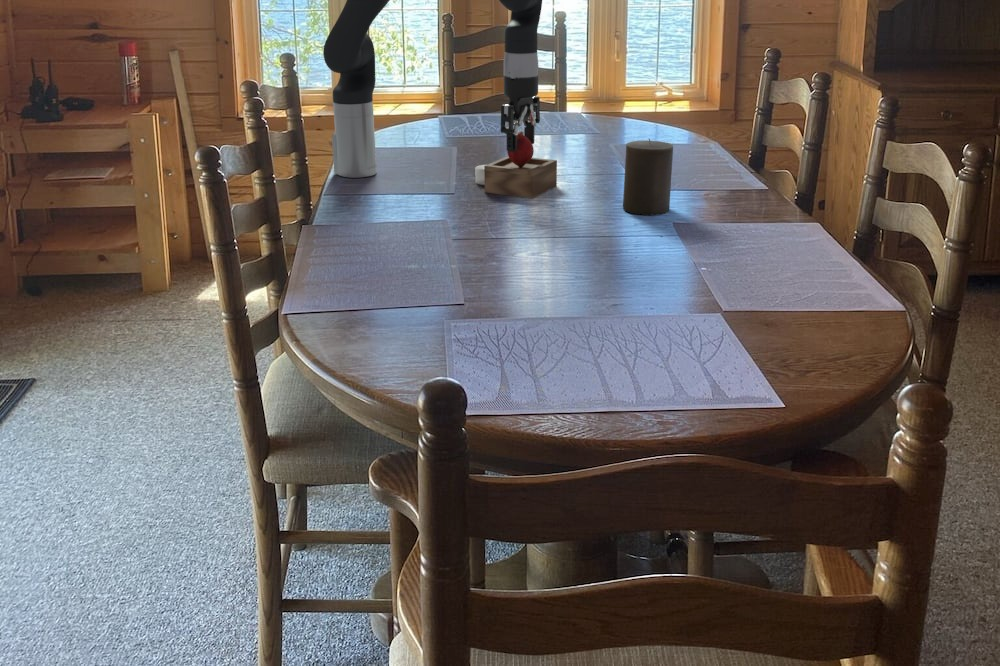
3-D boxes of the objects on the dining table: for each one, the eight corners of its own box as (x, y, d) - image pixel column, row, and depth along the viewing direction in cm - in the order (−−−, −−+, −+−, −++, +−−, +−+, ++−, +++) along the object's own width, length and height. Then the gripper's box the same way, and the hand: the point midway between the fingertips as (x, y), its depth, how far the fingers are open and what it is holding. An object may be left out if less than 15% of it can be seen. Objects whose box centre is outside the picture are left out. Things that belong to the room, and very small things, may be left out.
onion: (531, 170, 234) (530, 134, 231) (505, 169, 235) (504, 133, 232) (535, 164, 239) (535, 129, 236) (510, 164, 240) (509, 128, 237)
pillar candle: (640, 218, 216) (644, 144, 210) (613, 206, 224) (617, 135, 218) (679, 212, 220) (684, 140, 214) (651, 201, 228) (655, 132, 222)
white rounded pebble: (470, 183, 244) (470, 168, 243) (483, 178, 249) (483, 163, 248) (493, 186, 242) (493, 171, 240) (506, 180, 247) (505, 166, 245)
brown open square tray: (484, 192, 236) (484, 165, 234) (509, 180, 246) (509, 155, 244) (532, 198, 231) (533, 171, 229) (556, 186, 241) (556, 160, 239)
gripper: (520, 68, 236) (520, 140, 243) (489, 76, 225) (490, 152, 231) (550, 70, 233) (549, 143, 239) (521, 79, 222) (521, 155, 228)
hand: (520, 147), depth 235 cm, fingers open, 8 cm apart
